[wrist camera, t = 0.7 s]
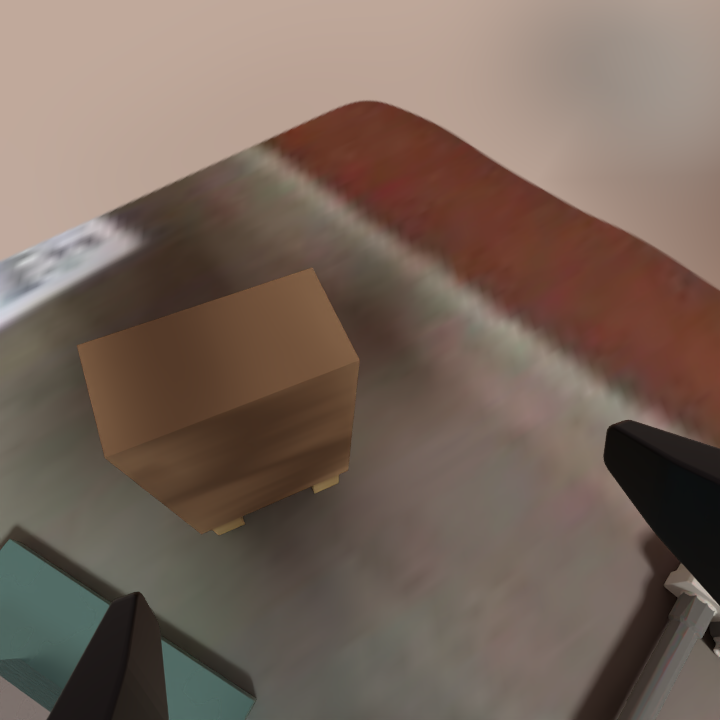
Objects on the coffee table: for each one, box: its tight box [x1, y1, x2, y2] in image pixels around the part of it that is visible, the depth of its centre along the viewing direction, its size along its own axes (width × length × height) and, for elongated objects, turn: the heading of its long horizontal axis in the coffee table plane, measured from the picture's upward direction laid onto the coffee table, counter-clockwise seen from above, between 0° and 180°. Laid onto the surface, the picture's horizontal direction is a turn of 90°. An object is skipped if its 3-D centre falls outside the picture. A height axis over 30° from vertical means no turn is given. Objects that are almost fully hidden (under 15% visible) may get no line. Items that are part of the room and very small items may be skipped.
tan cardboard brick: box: [77, 268, 360, 535], centre depth 18 cm, size 6×3×13 cm, turn 115°
